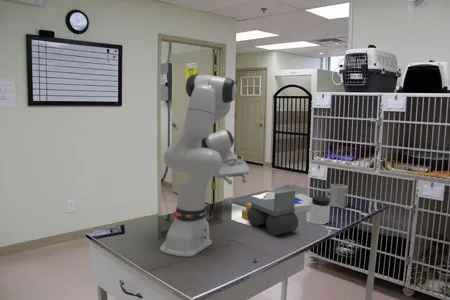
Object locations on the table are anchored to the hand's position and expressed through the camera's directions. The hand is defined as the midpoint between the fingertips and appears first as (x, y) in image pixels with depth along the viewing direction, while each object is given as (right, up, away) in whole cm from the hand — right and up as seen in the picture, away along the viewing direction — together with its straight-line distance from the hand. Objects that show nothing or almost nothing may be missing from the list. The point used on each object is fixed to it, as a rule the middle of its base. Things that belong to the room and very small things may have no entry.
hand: (238, 182), depth 181 cm
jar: (+40, -19, -8) cm, 44 cm away
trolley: (+15, -19, -18) cm, 30 cm away
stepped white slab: (+29, -15, +19) cm, 38 cm away
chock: (+6, -17, -6) cm, 19 cm away
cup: (+57, -15, +20) cm, 62 cm away
